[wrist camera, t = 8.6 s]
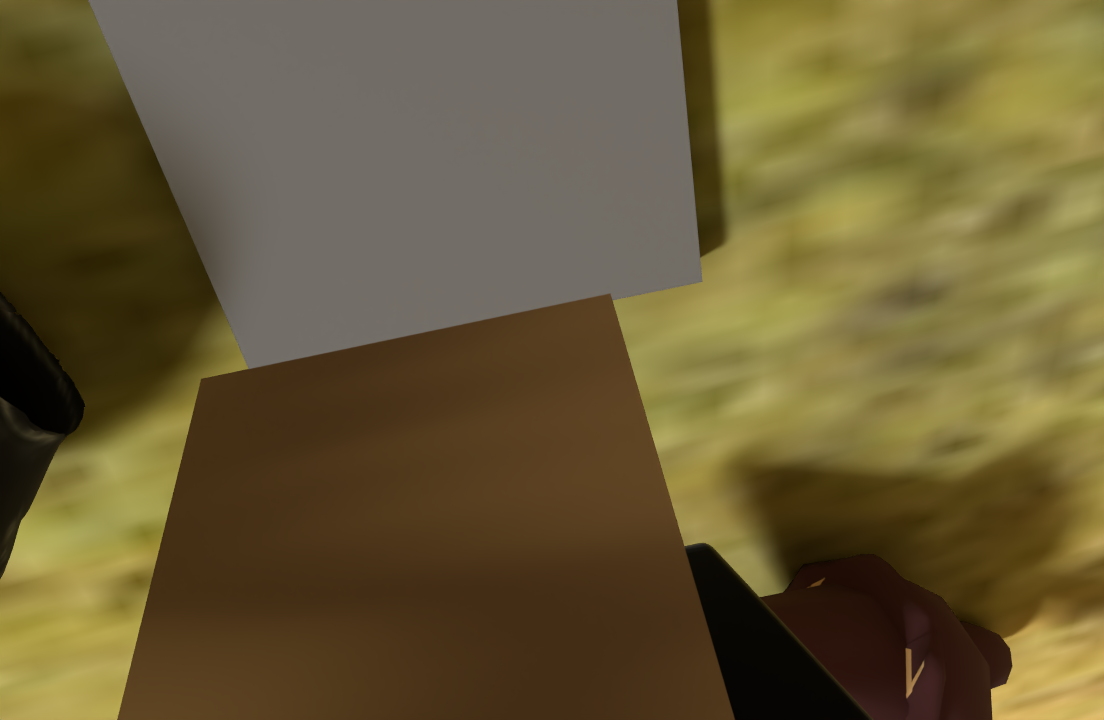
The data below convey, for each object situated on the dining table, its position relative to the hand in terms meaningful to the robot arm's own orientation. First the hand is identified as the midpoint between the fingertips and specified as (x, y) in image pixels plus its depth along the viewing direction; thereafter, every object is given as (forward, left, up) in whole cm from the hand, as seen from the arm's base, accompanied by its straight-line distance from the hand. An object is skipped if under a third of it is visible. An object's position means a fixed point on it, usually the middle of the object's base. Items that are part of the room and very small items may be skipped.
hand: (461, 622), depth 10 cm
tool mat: (0, 0, -13) cm, 13 cm away
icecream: (+7, -18, -13) cm, 23 cm away
